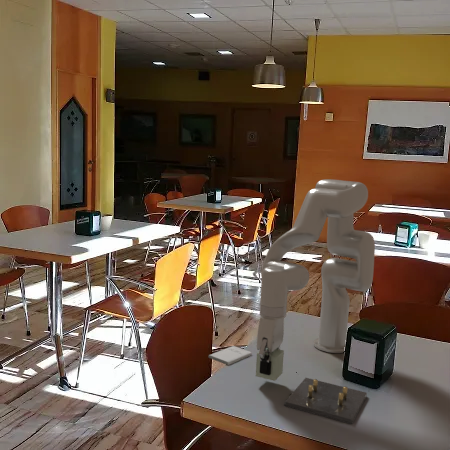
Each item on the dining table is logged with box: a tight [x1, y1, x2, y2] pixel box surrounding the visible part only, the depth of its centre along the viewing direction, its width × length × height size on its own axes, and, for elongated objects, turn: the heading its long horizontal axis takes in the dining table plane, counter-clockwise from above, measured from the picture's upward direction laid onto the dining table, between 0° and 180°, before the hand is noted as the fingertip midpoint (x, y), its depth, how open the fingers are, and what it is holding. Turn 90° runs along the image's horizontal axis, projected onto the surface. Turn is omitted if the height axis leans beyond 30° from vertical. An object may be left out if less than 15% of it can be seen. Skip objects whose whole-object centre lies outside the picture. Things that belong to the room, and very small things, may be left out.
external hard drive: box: [208, 345, 253, 366], centre depth 176 cm, size 2×8×12 cm
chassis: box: [284, 377, 368, 425], centre depth 148 cm, size 18×18×4 cm
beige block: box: [255, 348, 285, 382], centre depth 156 cm, size 6×6×7 cm
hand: (269, 369), depth 156 cm, fingers closed on beige block, 6 cm apart
